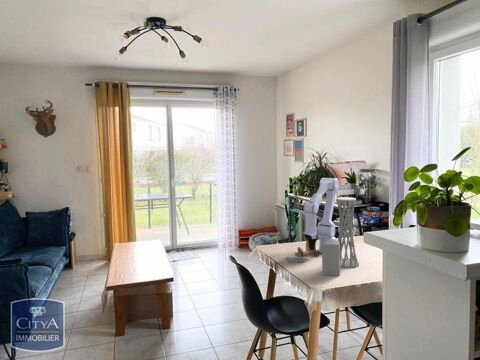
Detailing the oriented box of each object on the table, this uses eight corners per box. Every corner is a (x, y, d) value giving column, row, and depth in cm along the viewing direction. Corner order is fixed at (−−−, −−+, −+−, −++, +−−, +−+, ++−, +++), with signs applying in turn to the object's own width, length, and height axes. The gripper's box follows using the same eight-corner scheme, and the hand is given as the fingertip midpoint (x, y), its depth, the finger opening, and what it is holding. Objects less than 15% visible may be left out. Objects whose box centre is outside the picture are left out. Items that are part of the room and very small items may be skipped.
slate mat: (301, 257, 199) (301, 256, 199) (305, 262, 190) (305, 261, 190) (285, 257, 199) (285, 257, 199) (288, 262, 190) (288, 261, 190)
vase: (351, 259, 194) (352, 196, 192) (363, 267, 181) (365, 199, 178) (328, 261, 192) (328, 197, 189) (339, 269, 179) (339, 200, 176)
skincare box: (340, 272, 174) (340, 240, 173) (339, 276, 167) (339, 244, 166) (322, 270, 177) (323, 239, 176) (321, 275, 170) (321, 242, 169)
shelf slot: (313, 251, 210) (313, 246, 210) (317, 256, 200) (317, 251, 200) (297, 252, 210) (297, 247, 210) (301, 257, 200) (301, 251, 200)
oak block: (313, 249, 199) (313, 239, 199) (315, 252, 195) (315, 241, 194) (305, 250, 199) (305, 239, 198) (307, 252, 194) (307, 241, 194)
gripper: (300, 222, 203) (300, 245, 204) (306, 227, 188) (306, 252, 189) (313, 221, 203) (313, 244, 204) (319, 227, 188) (319, 252, 189)
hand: (310, 248), depth 197 cm, fingers closed on oak block, 4 cm apart
